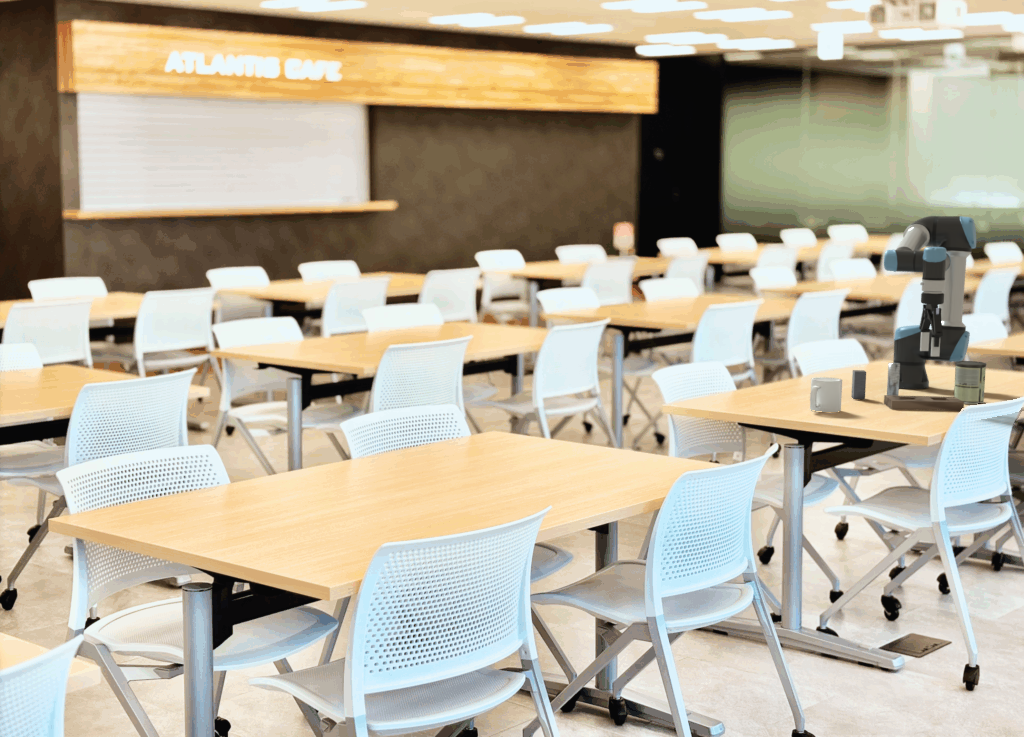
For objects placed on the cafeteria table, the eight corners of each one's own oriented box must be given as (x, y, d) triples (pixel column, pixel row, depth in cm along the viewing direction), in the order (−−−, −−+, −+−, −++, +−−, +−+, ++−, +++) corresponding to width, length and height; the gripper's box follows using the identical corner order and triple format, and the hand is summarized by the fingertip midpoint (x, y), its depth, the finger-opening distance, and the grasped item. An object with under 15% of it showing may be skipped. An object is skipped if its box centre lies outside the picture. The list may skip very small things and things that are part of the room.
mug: (827, 415, 435) (828, 383, 434) (799, 411, 442) (800, 380, 440) (846, 410, 445) (847, 379, 444) (818, 407, 452) (820, 376, 450)
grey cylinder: (885, 398, 473) (887, 362, 471) (896, 398, 472) (898, 362, 471) (887, 400, 469) (889, 363, 467) (899, 400, 469) (901, 364, 467)
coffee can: (950, 399, 472) (952, 360, 471) (979, 400, 472) (982, 361, 470) (956, 404, 462) (959, 364, 460) (987, 405, 461) (989, 365, 459)
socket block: (883, 403, 461) (884, 395, 461) (954, 405, 459) (954, 396, 459) (891, 409, 449) (891, 400, 449) (963, 411, 448) (963, 402, 447)
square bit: (851, 397, 474) (852, 370, 472) (862, 398, 473) (864, 370, 472) (853, 399, 470) (854, 371, 468) (864, 399, 469) (866, 371, 468)
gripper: (912, 288, 466) (909, 348, 469) (931, 295, 441) (928, 358, 444) (933, 289, 466) (930, 348, 469) (954, 295, 441) (951, 358, 444)
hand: (929, 353), depth 457 cm, fingers open, 13 cm apart
